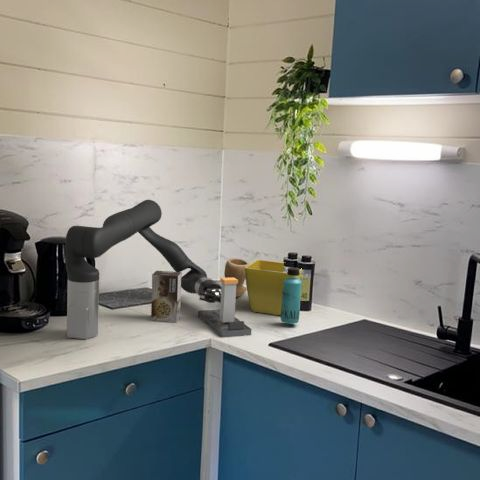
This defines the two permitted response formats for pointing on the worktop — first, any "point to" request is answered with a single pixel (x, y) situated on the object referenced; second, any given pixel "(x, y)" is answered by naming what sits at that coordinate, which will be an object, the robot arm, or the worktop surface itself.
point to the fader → (228, 299)
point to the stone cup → (236, 273)
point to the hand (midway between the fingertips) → (226, 302)
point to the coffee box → (166, 296)
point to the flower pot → (266, 285)
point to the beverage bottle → (291, 297)
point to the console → (223, 324)
